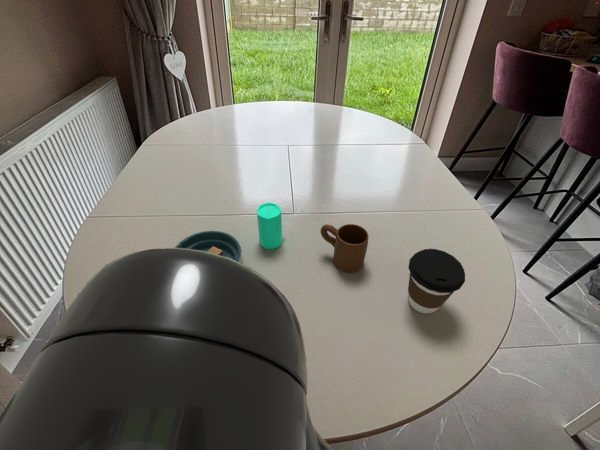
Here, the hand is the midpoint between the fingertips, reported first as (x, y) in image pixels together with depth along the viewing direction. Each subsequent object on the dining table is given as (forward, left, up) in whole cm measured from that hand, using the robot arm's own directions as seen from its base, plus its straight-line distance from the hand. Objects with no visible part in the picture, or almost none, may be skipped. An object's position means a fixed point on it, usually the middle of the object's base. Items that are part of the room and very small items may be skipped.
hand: (210, 279), depth 55 cm
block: (+8, +19, -17) cm, 27 cm away
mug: (+33, +1, -18) cm, 38 cm away
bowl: (+6, +19, -18) cm, 27 cm away
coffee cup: (+38, -20, -18) cm, 47 cm away
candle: (+23, +17, -18) cm, 34 cm away
